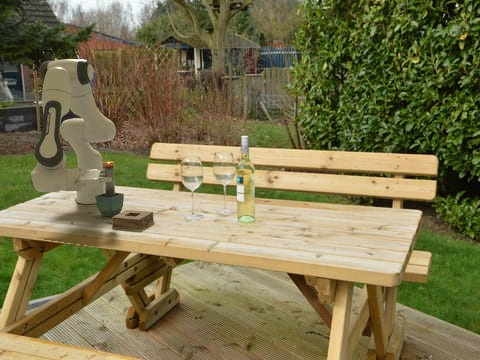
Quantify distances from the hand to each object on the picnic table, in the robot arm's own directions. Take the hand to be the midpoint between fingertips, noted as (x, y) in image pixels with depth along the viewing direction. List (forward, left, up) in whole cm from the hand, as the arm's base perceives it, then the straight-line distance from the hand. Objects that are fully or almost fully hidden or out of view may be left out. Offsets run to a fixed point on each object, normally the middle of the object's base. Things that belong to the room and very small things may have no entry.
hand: (111, 177), depth 212 cm
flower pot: (-12, -9, -19) cm, 24 cm away
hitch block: (-2, +7, -19) cm, 20 cm away
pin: (0, -1, -7) cm, 7 cm away
